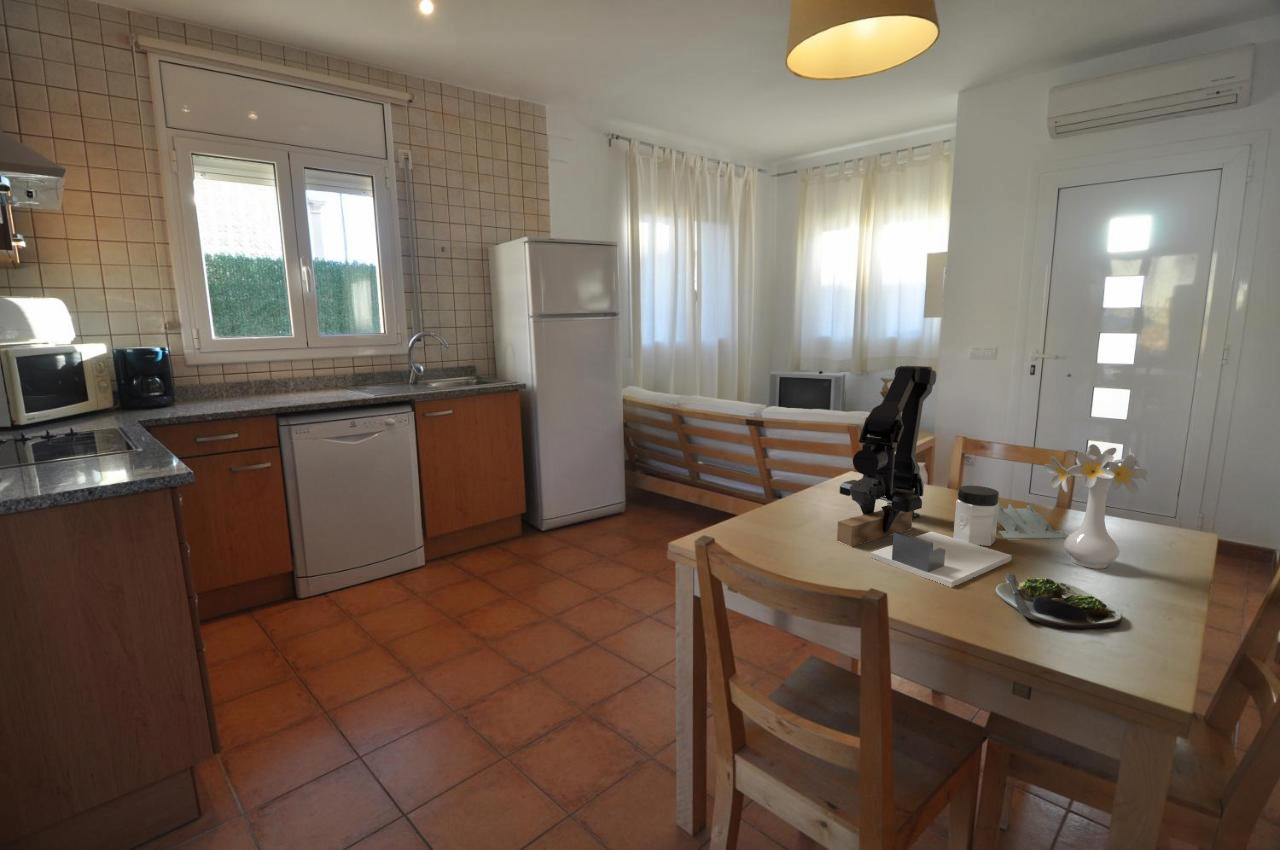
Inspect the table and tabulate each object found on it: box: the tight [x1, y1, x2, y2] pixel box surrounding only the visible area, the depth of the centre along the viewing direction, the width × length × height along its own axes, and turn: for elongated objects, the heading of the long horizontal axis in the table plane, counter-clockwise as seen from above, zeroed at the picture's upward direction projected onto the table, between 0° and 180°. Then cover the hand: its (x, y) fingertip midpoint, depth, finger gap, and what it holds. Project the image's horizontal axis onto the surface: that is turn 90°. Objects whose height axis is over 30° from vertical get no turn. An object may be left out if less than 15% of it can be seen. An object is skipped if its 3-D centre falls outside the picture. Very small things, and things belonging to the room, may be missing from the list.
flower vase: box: [1043, 443, 1149, 570], centre depth 124 cm, size 13×18×25 cm
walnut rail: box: [836, 509, 913, 547], centre depth 144 cm, size 22×4×5 cm, turn 121°
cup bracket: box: [892, 531, 945, 573], centre depth 125 cm, size 6×8×6 cm
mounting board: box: [869, 530, 1012, 588], centre depth 130 cm, size 23×18×1 cm
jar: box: [952, 485, 1000, 547], centre depth 140 cm, size 9×8×12 cm
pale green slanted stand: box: [997, 503, 1069, 540], centre depth 147 cm, size 14×6×15 cm
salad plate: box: [995, 573, 1123, 631], centre depth 109 cm, size 19×18×5 cm
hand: (876, 529), depth 145 cm, fingers closed on walnut rail, 4 cm apart
